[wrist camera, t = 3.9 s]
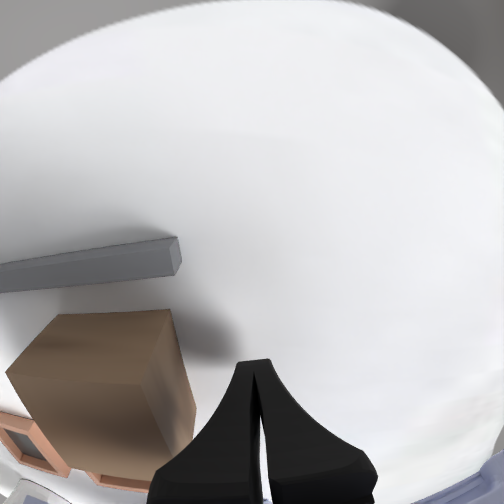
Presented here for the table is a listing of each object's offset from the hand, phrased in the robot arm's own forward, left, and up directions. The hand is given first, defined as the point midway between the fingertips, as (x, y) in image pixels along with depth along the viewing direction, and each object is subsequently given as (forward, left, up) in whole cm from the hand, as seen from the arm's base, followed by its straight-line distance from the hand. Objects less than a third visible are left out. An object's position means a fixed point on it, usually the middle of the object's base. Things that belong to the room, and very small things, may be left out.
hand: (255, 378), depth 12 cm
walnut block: (0, +6, -2) cm, 6 cm away
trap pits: (-8, +15, -1) cm, 17 cm away
